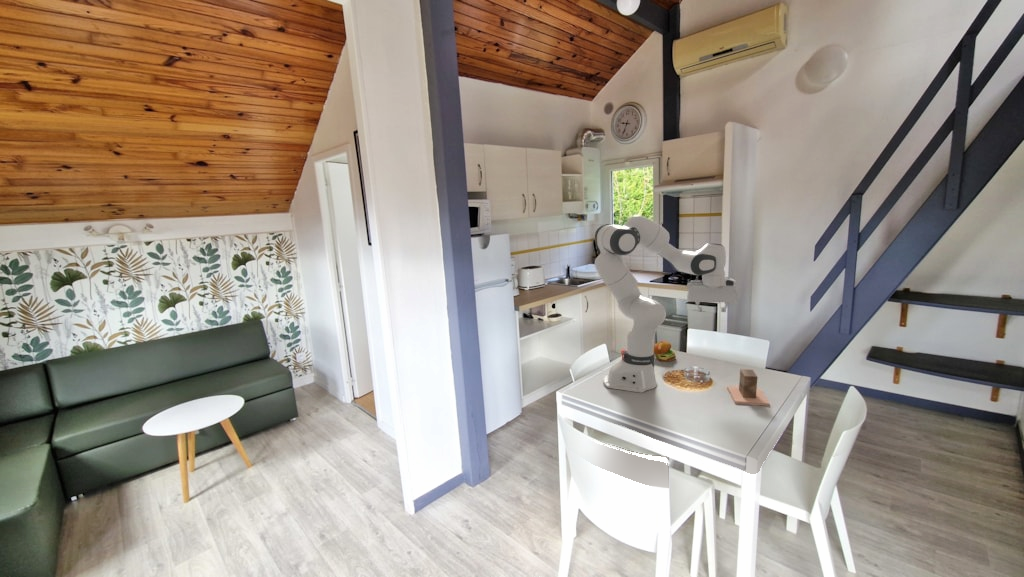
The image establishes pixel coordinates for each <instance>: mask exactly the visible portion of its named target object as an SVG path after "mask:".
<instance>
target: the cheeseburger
mask: <svg viewBox="0 0 1024 577" xmlns="http://www.w3.org/2000/svg"><path fill="white" fill-rule="evenodd" d="M654 353H655V359H657V360H658V361H661V362H665V363H666V362H672V361H673V360H675V359H676V358H677V354H676V353H675V350H674V349H672V344H671V343H670V342H668V341H665V340H663V341H659V342H657V343H654Z"/></svg>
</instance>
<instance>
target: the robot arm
mask: <svg viewBox="0 0 1024 577" xmlns="http://www.w3.org/2000/svg"><path fill="white" fill-rule="evenodd" d="M594 233H595V234H594V242H595V246H596V251H597V252H598V253H599V255H598V256H597V257H596V258H595V260H594V267H595V269H596V271H597V273H598V275H599V277H600V279H601V280H602V281H603V283H604V284H605V286H606V287H607V289H609V291H610V293H611V294H612V295H613V296H614V298H615V300H616V302H617V307H618V310H619V311H620V312H621V313H622V314H623V315H624V316H625V317H627V319H628V318H629V319H630V320H633V326H632V329H631V330H630V331H629V332H628V333H627V335H626V338H627V339H626V350H625V349H624V348H623V349H621V351H620V353H621V359H620V360H618V361H617V362H615V363H613V364H612V365H611V367H610V368H609V371H608V373H607V374H606V375H604V377H603V385H604V386H605V387H606V388H609V389H615V390H622V391H628V392H635V393H644V392H646V391H651V390H653V389H654V388H656V387H657V386H658V383H657V379H656V374H655V365H656V357H655V353H654V344H655V336H656V332H657V330H658V327H659V326H660V325H662V324H663V323H664V322H665V319H666V317H667V311H666V308H665V306H663V304H661V303H660V302H658V300H655V299H652V298H650V297H648V296H645V295H644V294H642V292H641V291H640V289H639V287H638V286H639V282H638V280H637V278H636V277H635V276H634V274H633V273H632V272H631V270H630V269H629V267H628V266H627V265H626V263H625V262H624V260H623V258H622V257H623V256H627V255H629V254H632V252H634V251H635V250H636V248H637V246H639V247H641V248H643V249H645V250H646V251H648V252H651V253H655V254H656V255H659V256H660V257H661V258H663V259H665V260H666V261H667V262H668V263H669V264H670V266H671V267H672V269H673V270H674V271H675V272H679V273H684V274H685V273H686V274H689V275H693V276H701V278H702V279H701V280H698V279H697V280H694V279H693V280H690V281H688V282H687V284H686V289H687V295H686V300H688V302H690V303H691V302H694V303H695V305H696V307H697V311H698V313H699V312H703V307H702V306H700V303H723V304H724V306H722V307H721V310H720V311H721V313H726V311H727V308H728V307H729V305H730V303H738V301H739V298H740V297H739V294H740V293H739V288H738V287H737V281H736V280H735V279H733V278H731V277H728V276H726V272H725V267H726V261H727V260H726V259H727V256H726V255H727V253H726V252H727V251H726V247H725V246H724V245H723V244H721V243H714V242H713V243H712V242H707V243H705V245H704V246H702V247H701V248H700V249H698V250H695V251H692V250H688V249H685V248H684V249H681V248H676V247H675V246H673V245H672V244H671V243H669V242H670V232H669V231H668V230H667V229H666V228H665V227H664V226H662V225H661V224H659V223H657V222H655V221H654V220H652V219H650V218H647V217H645V216H642V215H640V214H635V215H632V216H631V217H629V218H628V219H627V220H626V222H625V224H623V225H618V224H611V223H606V224H603V225H601V226H599V227H598V228H596V231H595V232H594Z"/></svg>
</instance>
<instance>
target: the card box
mask: <svg viewBox="0 0 1024 577" xmlns="http://www.w3.org/2000/svg"><path fill="white" fill-rule="evenodd" d="M757 386H758V375H757V374H756V372H755V371H754V370H753V369H748V368H747V369H743V368H740V371H739V386H738V387H739V391H740V393H741V395H742V397H743V398H756V390H757V388H758V387H757Z"/></svg>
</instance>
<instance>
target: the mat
mask: <svg viewBox="0 0 1024 577" xmlns="http://www.w3.org/2000/svg"><path fill="white" fill-rule="evenodd" d="M726 389H727V391H728V393H729V395H730V396H731V399H732V400H733V402H734V404H737V405H749V406H751V405H752V406H765V407H770V406H771V403H770V402H769V400H768V399H767V397H766V395H765V394H764V393H763V391H762V390H761V388H760V387H757V390H756V398H743V397H742V395H741V393H740V391H739V386H737V385H735V386H734V385H727V386H726Z"/></svg>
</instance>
